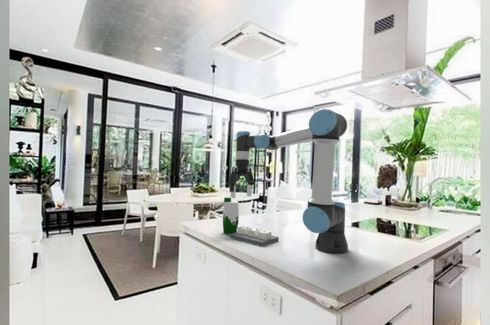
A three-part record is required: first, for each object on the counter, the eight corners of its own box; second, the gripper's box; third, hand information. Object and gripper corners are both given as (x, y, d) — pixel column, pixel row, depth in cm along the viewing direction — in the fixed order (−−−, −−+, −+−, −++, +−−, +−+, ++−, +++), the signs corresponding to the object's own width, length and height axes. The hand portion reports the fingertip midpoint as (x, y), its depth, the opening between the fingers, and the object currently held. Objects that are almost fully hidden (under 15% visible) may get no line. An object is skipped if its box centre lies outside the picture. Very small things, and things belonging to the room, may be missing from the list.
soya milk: (223, 230, 164) (224, 196, 164) (238, 230, 164) (239, 197, 164) (221, 234, 155) (222, 198, 155) (237, 234, 155) (238, 199, 155)
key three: (250, 233, 151) (250, 227, 151) (244, 235, 147) (244, 228, 147) (243, 232, 154) (243, 225, 154) (237, 233, 150) (237, 226, 150)
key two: (260, 236, 146) (260, 229, 146) (254, 237, 142) (254, 230, 142) (253, 234, 149) (253, 227, 149) (247, 236, 146) (247, 229, 146)
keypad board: (278, 240, 144) (278, 237, 144) (262, 246, 133) (262, 242, 133) (246, 233, 158) (246, 229, 158) (229, 237, 148) (229, 234, 148)
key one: (271, 238, 142) (271, 231, 142) (265, 240, 138) (265, 233, 138) (263, 236, 145) (263, 229, 145) (257, 238, 141) (257, 231, 141)
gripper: (251, 159, 165) (250, 194, 165) (221, 158, 146) (220, 198, 146) (261, 159, 160) (260, 196, 160) (232, 158, 141) (230, 199, 141)
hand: (241, 197), depth 153 cm, fingers open, 13 cm apart
